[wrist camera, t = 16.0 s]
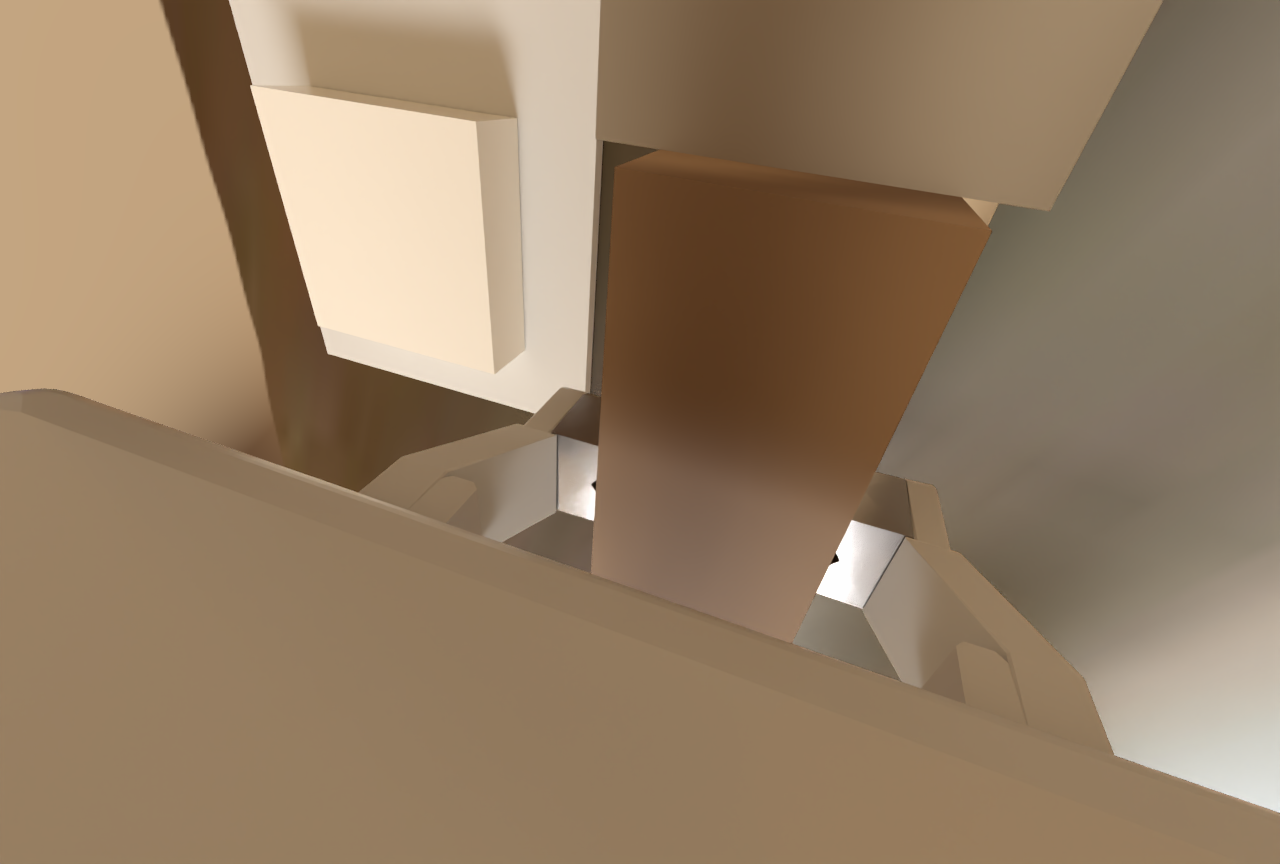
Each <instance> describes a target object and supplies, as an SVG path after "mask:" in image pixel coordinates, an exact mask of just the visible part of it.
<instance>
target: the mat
mask: <svg viewBox="0 0 1280 864" xmlns="http://www.w3.org/2000/svg"><path fill="white" fill-rule="evenodd" d="M600 1H601V0H229V2H230V6H231V9H232V13H233V16H234V20H235V24H236V27H237V31H238V34H239V38H240V41H241V45H242V49H243V52H244V56H245V59H246V63H247V66H248V70H249V74H250V77H251V81H252V84H253V85H261V86H313V87H320V88H326V89H333V90H339V91H346V92H352V93H358V94H365V95H371V96H378V97H384V98H391V99H397V100H403V101H410V102H416V103H423V104H429V105H436V106H442V107H448V108H455V109H461V110H468V111H474V112H481V113H487V114H494V115H500V116H506V117H513V118H517V127H518V157H519V188H520V218H521V249H522V279H523V310H524V340H525V351H523V352H522V353H521V354H520V355H518V356H517V357H516V358H515V359H513V360H512V361H511V362H510V363H508V364H507V365H506V366H504V367H503V368H502V369H501V370H499V371H498V372H497V373H496V374H491V373H487V372H484V371H480V370H476V369H473V368H469V367H466V366H462V365H458V364H455V363H451V362H447V361H444V360H440V359H437V358H433V357H429V356H426V355H422V354H419V353H415V352H411V351H408V350H404V349H400V348H397V347H393V346H390V345H386V344H382V343H379V342H375V341H371V340H368V339H364V338H361V337H357V336H353V335H350V334H346V333H342V332H339V331H335V330H332V329H328V328H324V327H321V326H320V327H321V331H322V334H323V338H324V341H325V345H326V348H327V352H328V354H331V355H334V356H338V357H341V358H345V359H348V360H352V361H355V362H359V363H362V364H366V365H369V366H372V367H376V368H379V369H383V370H386V371H390V372H393V373H397V374H400V375H404V376H407V377H411V378H414V379H417V380H421V381H424V382H428V383H431V384H435V385H438V386H442V387H445V388H449V389H452V390H456V391H459V392H462V393H466V394H469V395H473V396H476V397H480V398H483V399H487V400H490V401H494V402H497V403H501V404H504V405H507V406H511V407H514V408H518V409H521V410H525V411H528V412H532V413H536V412H537V411H538V410H539V409H540V408H541V407H542V406H543V405H544V404H545V403H546V402H547V401H548V400H549V399H550V398H551V397H552V396H553V395H554V394H555V393H556V392H557V391H558V390H559V389H560V388H561V387H568V388H572V389H576V390H580V391H584V392H586V393H590V386H591V367H592V348H593V328H594V309H595V290H596V270H597V251H598V231H599V212H600V193H601V173H602V154H603V140H597V139H595V135H596V108H597V81H598V55H599V28H600Z"/></svg>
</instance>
